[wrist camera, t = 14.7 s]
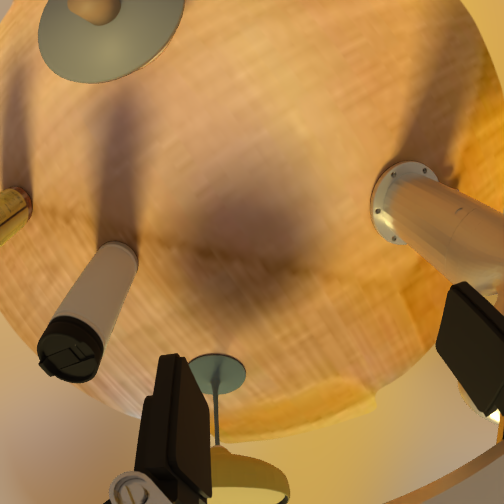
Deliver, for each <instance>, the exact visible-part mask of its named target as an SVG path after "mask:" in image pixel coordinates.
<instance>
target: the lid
mask: <svg viewBox="0 0 504 504" xmlns="http://www.w3.org/2000/svg"><path fill="white" fill-rule="evenodd" d="M184 4H185V0H48V2H47V4H46V6H45V8H44V11H43V13H42V16H41V20H40V23H39V30H38V43H39V49H40V52H41V55H42V57H43V59H44V61H45V63H46V64H47V66H48V67H49V68H50V69H51V70H52V71H53V72H54V73H55V74H57V75H59V76H60V77H62V78H64V79H67V80H70V81H74V82H79V83H88V84H93V83H104V82H109V81H113V80H116V79H119V78H121V77H124V76H127V75H129V74H130V73H132V72H134V71H136V70H138V69H139V68H141V67H142V66H144V65H145V64H147V63H148V62H149V61H150V60H152V59H153V58H154V57H155V56H156V55H157V54H158V53H159V52H160V51H161V50H162V49H163V48H164V47H165V46H166V45H167V43H168V42H169V41H170V39H171V38H172V36H173V35H174V33H175V31H176V29H177V28H178V26H179V23H180V21H181V18H182V15H183V11H184Z"/></svg>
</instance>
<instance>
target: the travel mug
mask: <svg viewBox="0 0 504 504" xmlns="http://www.w3.org/2000/svg"><path fill="white" fill-rule="evenodd" d="M137 270H138V260H137V257H136V255H135V253H134V251H133V250H132V249H131V248H130V247H129V246H127V245H126V244H124V243H121V242H117V241H112V242H108V243H105V244H104V245H102V246H101V247H100V249H99V250H98V251H97V253H96V254H95V255H94V257H93V258H92V259H91V261H90V262H89V264H88V265H87V266H86V268H85V269H84V271H83V272H82V273H81V275H80V276H79V278H78V279H77V281H76V282H75V284H74V285H73V286H72V288H71V289H70V291H69V292H68V294H67V295H66V297H65V298H64V300H63V301H62V303H61V305H60V306H59V308H58V309H57V311H56V312H55V314H54V316H53V317H52V319H51V320H50V322H49V325H48V327H47V328H46V330H45V331H44V333H43V335H42V336H41V338H40V340H39V342H38V345H37V353H38V357H39V359H40V362H39V366H40V367H41V368H42V369H43V370H44V371H45V372H46V373H47V374H48V375H49V376H50V377H51V376H56V377H57V378H59V379H61V380H64V381H66V382H70V383H84V382H87V381H89V380H91V379H92V378H94V377H95V375H96V373H97V370H98V368H99V365H100V362H101V359H102V357H103V355H104V352H105V350H106V347H107V344H108V341H109V339H110V336H111V333H112V331H113V328H114V326H115V323H116V321H117V318H118V315H119V313H120V310H121V308H122V305H123V303H124V301H125V298H126V296H127V293H128V291H129V289H130V286H131V284H132V282H133V279H134V277H135V275H136V272H137Z"/></svg>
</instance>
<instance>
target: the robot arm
mask: <svg viewBox="0 0 504 504" xmlns="http://www.w3.org/2000/svg"><path fill="white" fill-rule="evenodd" d="M391 173H392V174H391ZM370 214H371V220H372V223H373V225H374V227H375V229H376V231H377V232H378V233H379V234H380V235H381V236H382V237H383V238H384V239H385V240H387V241H388V242H390V243H392V244H397V245H406V244H408V245H409V246H410V247H412V248H413V249H414V250H415V251H416V252H417V253H419V254H420V255H421V256H422V257H423V258H424V259H426V260H427V261H428V262H429V263H430V264H431V265H432V266H434V267H435V268H436V269H437V270H438V271H439V272H440V273H441V274H443V275H444V276H445V277H446V278H447V279H448V280H449V281H450V282H451V283H452V284H454V285H452V286H451V287H450V290H449V291H448V293H447V298H446V303H445V308H444V312H443V316H442V321H441V325H440V329H439V333H438V336H437V340H436V349H437V352H438V353H439V355H440V356H441V357H442V359H443V360H444V361H445V363H446V364H447V366H448V367H449V368H450V370H451V371H452V372H453V374H454V375H455V377H456V378H457V380H458V388H459V391H460V395H461V397H462V398H463V400H464V402H465V403H466V404H467V405H468V406H469V407H470V408H471V409H472V410H473V411H474V412H475V413H476V414H478V415H479V416H481V417H483V418H484V419H486V420H488V421H490V422H493V423H495V424H498V425H499V428H498V435H497V442H496V445H495V446H493V447H492V448H491V449H489V450H488V451H486V452H484V453H483V454H481V455H480V456H478V457H477V458H475V459H473V460H472V461H470V462H468V463H467V464H465V465H463V466H462V467H460V468H458V469H456V470H455V471H453V472H451V473H449V474H447V475H445V476H443V477H442V478H440V479H438V480H436V481H434V482H432V483H430V484H428V485H426V486H424V487H421V488H419V489H417V490H415V491H413V492H410V493H408V494H406V495H404V496H401V497H399V498H396V499H394V500H391V501H389V502H386V503H384V504H504V214H502V213H501V212H499V211H497V210H495V209H493V208H491V207H489V206H487V205H485V204H483V203H481V202H480V201H478V200H476V199H474V198H472V197H470V196H467V195H465V194H463V193H461V192H459V190H458V189H453V188H451V187H448V186H446V185H444V184H442V183H440V182H439V181H438V179H437V176H436V175H435V174H434V172H433V171H432V170H431V169H430V168H429V167H428V166H426V165H424V164H422V163H419V162H416V161H402V162H399V163H397V164H395V165H393V166H391V167H390V168H389V169H387V170H386V171H385V172H384V173H383V174H382V176H381V177H380V178H379V180H378V181H377V183H376V185H375V187H374V190H373V193H372V196H371V202H370ZM494 294H498V297H497V301H496V303H495V305H494V306H493V305H491V304H490V302H488V301H487V300H486V299H485V298H484V297H483V296H489V295H494ZM211 497H212V477H211V452H210V414H209V407H208V404H207V402H206V400H205V398H204V396H203V394H202V392H201V390H200V388H199V386H198V384H197V382H196V379H195V377H194V375H193V373H192V371H191V369H190V367H189V365H188V362H187V360H186V358H185V357H180V356H179V354H177V353H175V354H168V355H161V356H160V357H159V361H158V367H157V373H156V380H155V386H154V392H153V395H151V396H147V397H146V398H145V400H144V404H143V410H142V416H141V423H140V430H139V437H138V444H137V451H136V459H135V467H134V471H129V472H124V473H122V474H120V475H118V476H117V477H116V478H115V479H114V480H113V482H112V483H111V485H110V489H109V498H110V499H109V500H108V501H106V502H105V503H103V504H207V498H211Z"/></svg>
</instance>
